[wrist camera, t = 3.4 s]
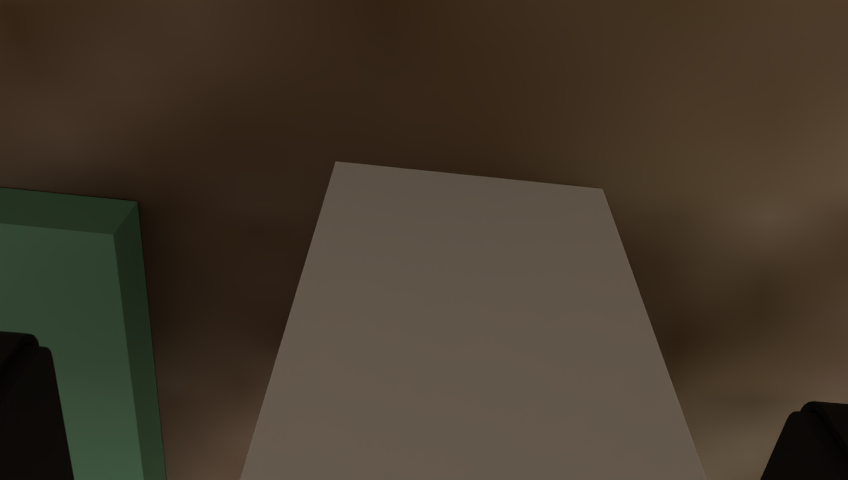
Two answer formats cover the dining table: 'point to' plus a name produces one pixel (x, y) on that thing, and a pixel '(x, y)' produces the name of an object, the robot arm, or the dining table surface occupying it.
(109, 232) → the board
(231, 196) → the dining table surface
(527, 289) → the plug
